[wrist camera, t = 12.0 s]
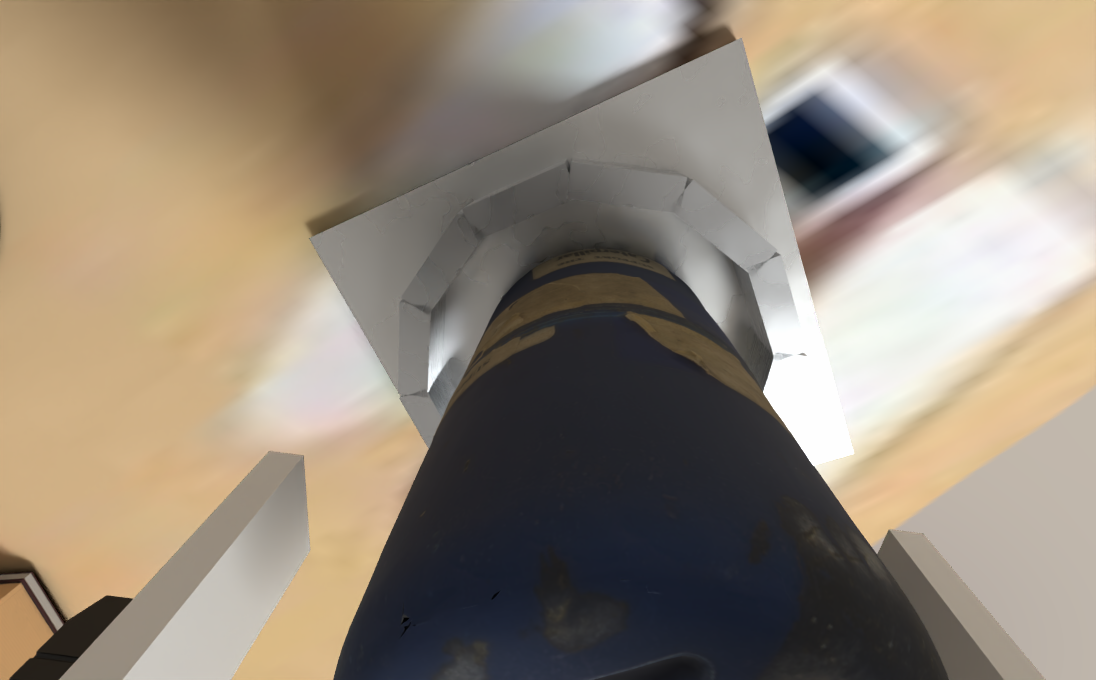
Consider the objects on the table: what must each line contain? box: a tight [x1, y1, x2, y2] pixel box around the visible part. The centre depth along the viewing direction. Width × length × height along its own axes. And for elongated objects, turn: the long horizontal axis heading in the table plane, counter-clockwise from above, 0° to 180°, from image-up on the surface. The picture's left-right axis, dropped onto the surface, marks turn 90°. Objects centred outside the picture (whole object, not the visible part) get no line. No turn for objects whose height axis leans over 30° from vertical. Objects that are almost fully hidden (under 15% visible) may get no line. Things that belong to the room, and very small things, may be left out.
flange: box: [309, 38, 853, 465], centre depth 22 cm, size 18×18×3 cm
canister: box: [333, 249, 949, 680], centre depth 15 cm, size 10×10×18 cm
